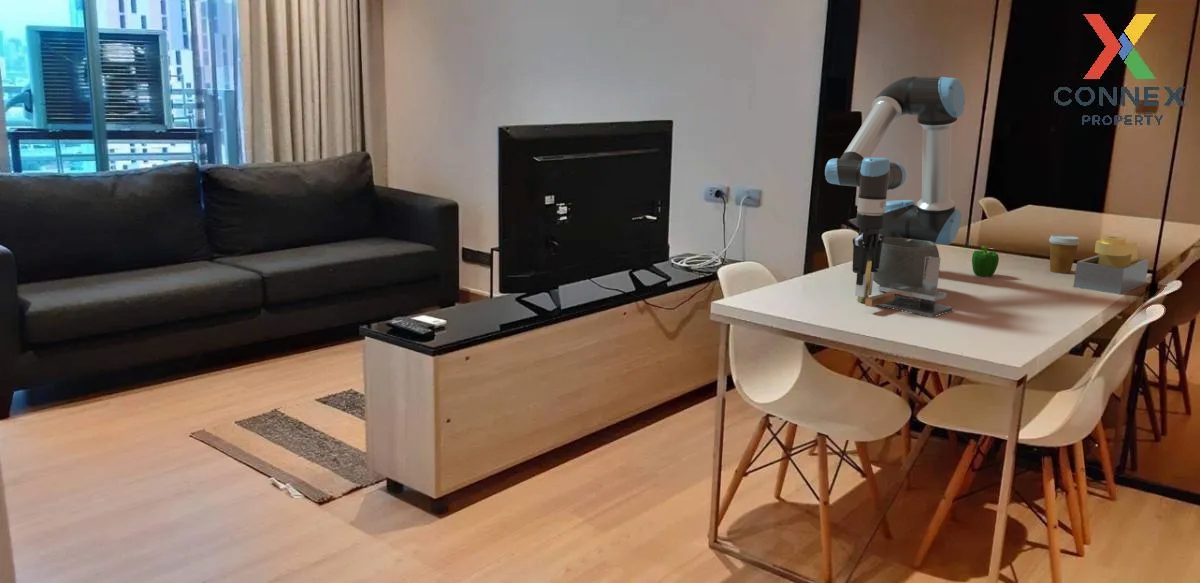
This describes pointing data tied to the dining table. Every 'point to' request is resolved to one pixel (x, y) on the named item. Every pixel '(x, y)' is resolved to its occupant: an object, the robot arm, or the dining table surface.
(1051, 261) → the disposable coffee cup
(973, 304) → the dining table surface
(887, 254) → the bowl
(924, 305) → the grey lever block
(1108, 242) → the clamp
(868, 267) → the gold rounded cylinder
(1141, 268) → the grey open-top box
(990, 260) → the bell pepper
